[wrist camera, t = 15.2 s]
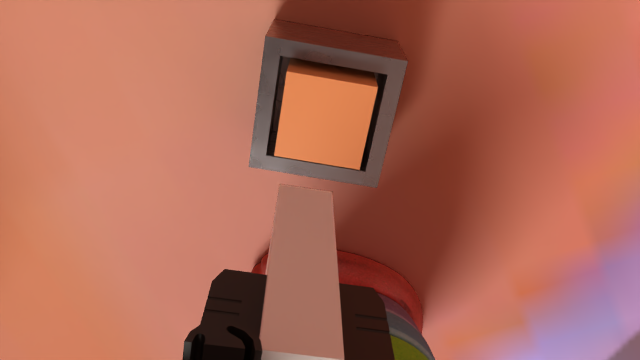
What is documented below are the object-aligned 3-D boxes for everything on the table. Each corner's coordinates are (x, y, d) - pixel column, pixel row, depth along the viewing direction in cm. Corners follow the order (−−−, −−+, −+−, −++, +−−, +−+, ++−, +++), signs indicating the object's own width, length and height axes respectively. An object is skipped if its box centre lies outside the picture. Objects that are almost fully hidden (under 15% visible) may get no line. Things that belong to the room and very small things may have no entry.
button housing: (258, 135, 29) (248, 166, 25) (274, 19, 26) (265, 36, 23) (371, 154, 29) (377, 187, 26) (397, 41, 27) (407, 61, 23)
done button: (278, 135, 27) (274, 155, 24) (290, 56, 25) (286, 71, 23) (356, 148, 27) (359, 169, 25) (373, 71, 25) (378, 87, 23)
